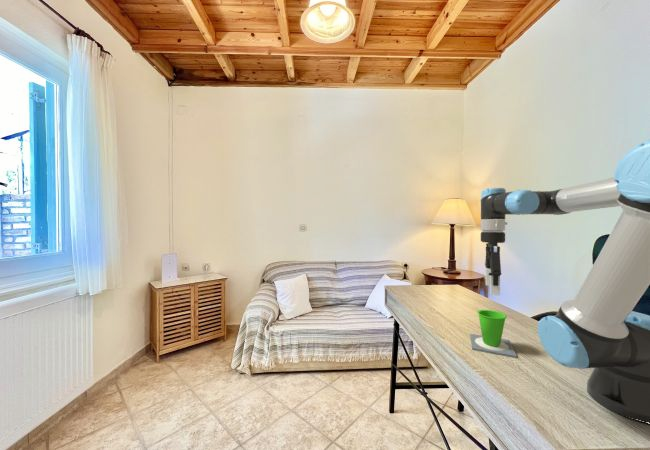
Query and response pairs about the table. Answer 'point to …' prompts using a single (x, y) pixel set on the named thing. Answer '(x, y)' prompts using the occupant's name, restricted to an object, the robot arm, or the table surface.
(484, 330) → the cup
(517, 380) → the table surface
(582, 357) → the robot arm
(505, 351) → the coaster
